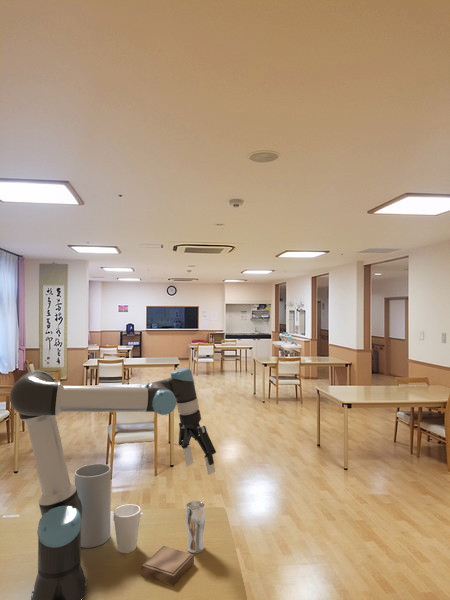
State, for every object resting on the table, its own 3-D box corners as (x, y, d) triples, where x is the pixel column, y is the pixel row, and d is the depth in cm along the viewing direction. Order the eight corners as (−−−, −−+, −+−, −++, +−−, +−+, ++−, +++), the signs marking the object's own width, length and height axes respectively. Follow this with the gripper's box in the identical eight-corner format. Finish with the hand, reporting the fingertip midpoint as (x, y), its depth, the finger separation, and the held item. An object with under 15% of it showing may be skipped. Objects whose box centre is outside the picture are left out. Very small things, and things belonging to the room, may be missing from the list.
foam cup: (133, 557, 138) (133, 518, 139) (108, 554, 140) (108, 515, 141) (144, 541, 148) (144, 505, 148) (120, 539, 150) (121, 503, 150)
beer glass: (207, 544, 146) (207, 501, 146) (201, 555, 139) (201, 510, 140) (189, 541, 148) (189, 499, 148) (182, 552, 141) (182, 508, 142)
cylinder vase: (69, 538, 150) (69, 469, 151) (101, 526, 159) (101, 461, 159) (82, 553, 141) (83, 480, 142) (116, 539, 149) (116, 470, 150)
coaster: (141, 575, 129) (141, 564, 129) (163, 554, 140) (163, 545, 140) (173, 586, 124) (173, 575, 124) (193, 564, 135) (193, 554, 135)
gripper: (218, 412, 140) (230, 472, 140) (179, 404, 159) (189, 457, 160) (200, 419, 135) (213, 481, 136) (162, 410, 154) (173, 465, 155)
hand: (200, 468), depth 148 cm, fingers open, 13 cm apart
